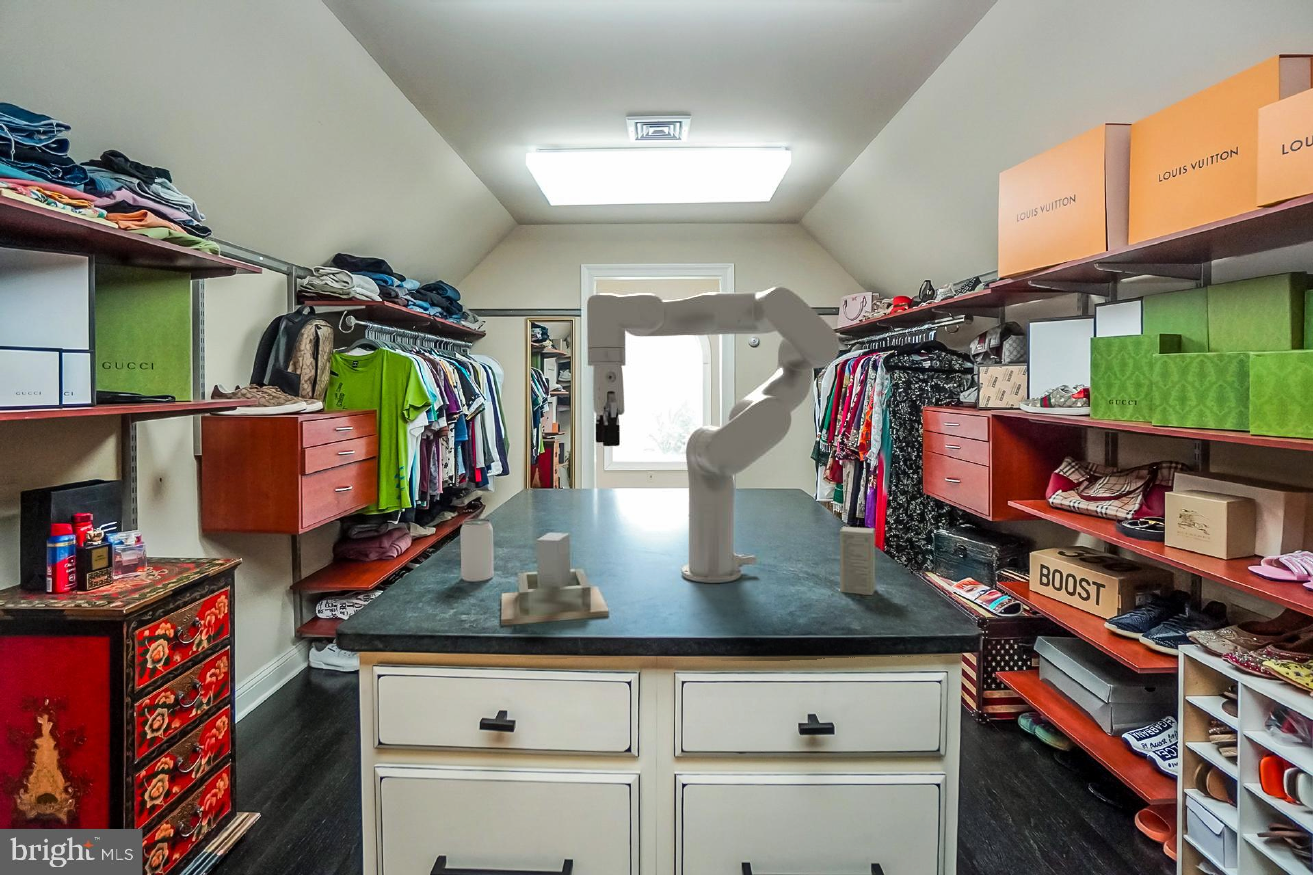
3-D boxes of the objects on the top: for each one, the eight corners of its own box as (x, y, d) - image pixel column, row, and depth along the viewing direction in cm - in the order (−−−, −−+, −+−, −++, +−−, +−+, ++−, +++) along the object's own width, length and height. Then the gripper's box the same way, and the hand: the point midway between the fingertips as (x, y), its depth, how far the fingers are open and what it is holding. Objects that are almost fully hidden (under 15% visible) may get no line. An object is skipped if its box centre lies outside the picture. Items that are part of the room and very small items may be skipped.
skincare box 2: (875, 589, 121) (876, 528, 120) (872, 596, 117) (874, 532, 116) (841, 585, 123) (842, 525, 123) (838, 592, 119) (839, 529, 119)
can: (484, 583, 126) (483, 525, 125) (455, 581, 127) (454, 523, 126) (499, 574, 132) (497, 518, 131) (471, 572, 133) (469, 517, 132)
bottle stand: (597, 591, 120) (597, 566, 120) (608, 615, 107) (608, 587, 106) (501, 598, 116) (501, 572, 116) (501, 625, 102) (500, 595, 102)
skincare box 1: (549, 595, 115) (548, 531, 114) (571, 597, 114) (570, 532, 113) (536, 606, 109) (535, 539, 108) (559, 608, 108) (558, 540, 107)
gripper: (633, 355, 115) (634, 447, 116) (617, 360, 132) (618, 440, 133) (593, 355, 114) (594, 448, 115) (582, 360, 130) (583, 441, 131)
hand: (607, 444), depth 124 cm, fingers open, 9 cm apart
